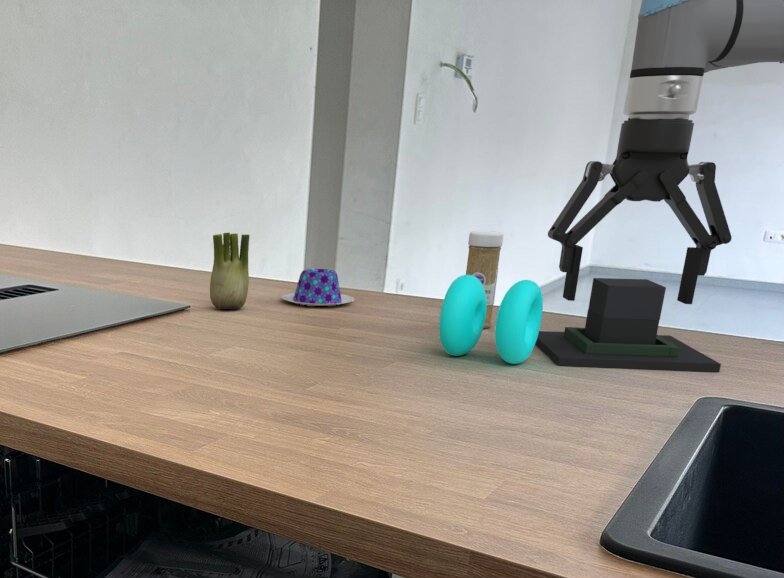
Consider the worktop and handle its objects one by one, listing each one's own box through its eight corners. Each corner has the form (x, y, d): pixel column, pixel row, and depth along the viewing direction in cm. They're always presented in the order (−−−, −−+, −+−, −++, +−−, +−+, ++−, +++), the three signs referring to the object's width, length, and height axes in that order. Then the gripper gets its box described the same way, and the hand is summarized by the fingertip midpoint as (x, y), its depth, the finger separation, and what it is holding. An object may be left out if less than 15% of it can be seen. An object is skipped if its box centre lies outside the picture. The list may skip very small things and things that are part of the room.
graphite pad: (641, 310, 110) (647, 279, 109) (659, 320, 104) (666, 287, 103) (588, 309, 111) (593, 277, 110) (603, 318, 105) (608, 285, 104)
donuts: (459, 346, 113) (468, 269, 109) (538, 357, 107) (550, 276, 104) (431, 361, 105) (440, 278, 102) (515, 373, 99) (527, 286, 96)
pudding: (365, 307, 139) (367, 275, 137) (294, 310, 137) (295, 276, 135) (339, 295, 150) (340, 265, 148) (272, 297, 148) (274, 266, 146)
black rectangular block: (635, 341, 111) (641, 310, 110) (653, 352, 105) (659, 320, 104) (582, 339, 112) (587, 309, 111) (597, 350, 106) (602, 318, 105)
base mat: (668, 342, 115) (672, 326, 115) (719, 372, 100) (723, 353, 100) (528, 337, 118) (531, 321, 117) (557, 365, 103) (560, 347, 102)
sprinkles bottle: (459, 328, 124) (470, 232, 119) (458, 322, 128) (469, 229, 123) (492, 330, 123) (505, 233, 118) (491, 324, 127) (502, 230, 122)
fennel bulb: (248, 307, 139) (251, 231, 135) (244, 313, 134) (246, 234, 130) (213, 305, 140) (215, 230, 136) (207, 311, 136) (208, 233, 132)
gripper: (553, 116, 98) (527, 302, 105) (791, 116, 94) (748, 309, 102) (538, 118, 105) (515, 292, 112) (759, 118, 101) (721, 298, 109)
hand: (625, 300), depth 107 cm, fingers open, 13 cm apart
